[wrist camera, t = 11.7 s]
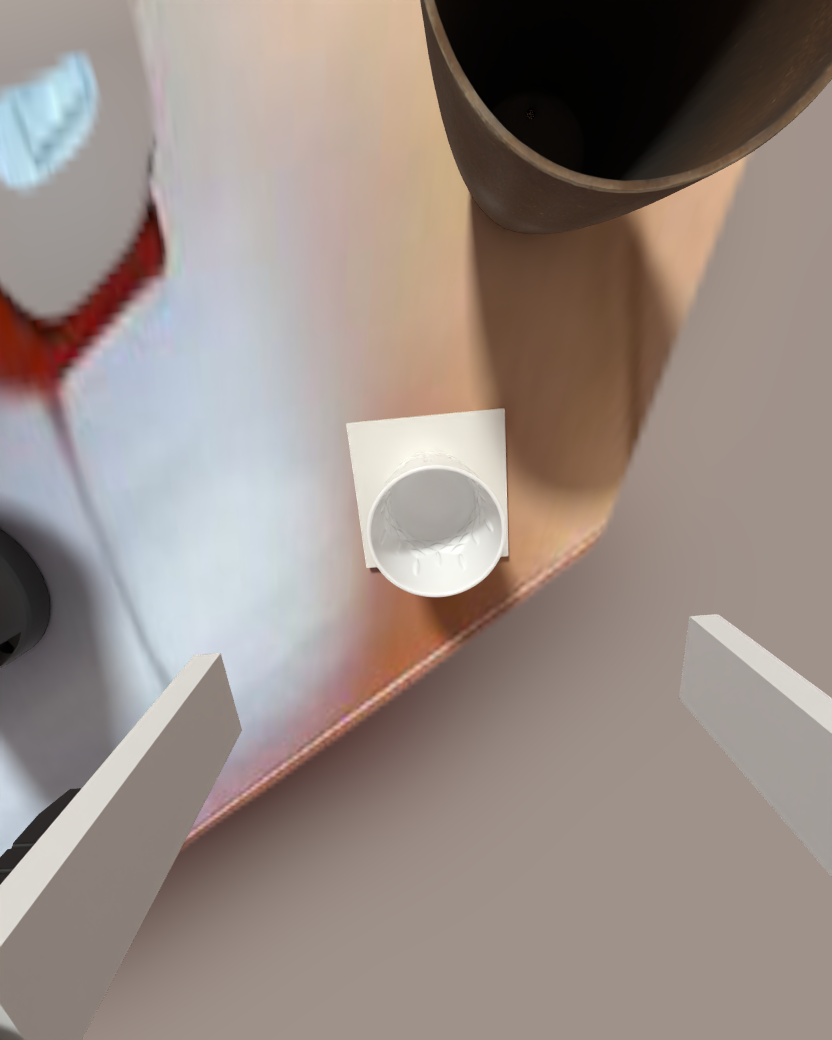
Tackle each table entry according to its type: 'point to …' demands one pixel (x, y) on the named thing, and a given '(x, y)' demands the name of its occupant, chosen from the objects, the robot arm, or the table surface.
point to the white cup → (435, 527)
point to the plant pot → (614, 96)
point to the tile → (453, 434)
